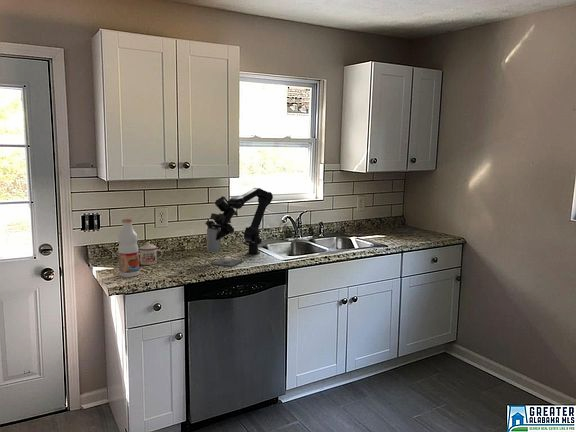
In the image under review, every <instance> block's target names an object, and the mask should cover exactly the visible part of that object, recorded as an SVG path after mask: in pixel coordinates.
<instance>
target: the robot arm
mask: <svg viewBox="0 0 576 432" xmlns="http://www.w3.org/2000/svg"><path fill="white" fill-rule="evenodd" d="M256 197H257V204H258V205H257V208H256V210H255V213H254V215H253V219H252V221H251V224H250V225H249V226H248V227H245V231H244V232H243V234H244V235H243V237H244V241H245V243H246V244H247V243H248V251H247V252H246V254H247V255H258V254H260V253H261V251H259V245H261V244H262V243H263V242H262V241H263V239H261V237H260V229H259V228H260V225H261V224H262V223H261V222H262V220H263V217H264V214H265V211H266V210H267V207H268V206H269V205H270V204H271V202H272V201H273V198H274V196H273V193H272V192H271V191H267V190H264V189H263V188H261V187H253V188H252V189H251V190H248V191H247V192H245V193H243V194H241V195H239V196H235V197H231V198H229V200H227V199H226V197H225V196H221V197H219V198H218V199H216V200H215V202H214V205H215V206H216V207H217V209H218V210H219V211H220V212H222V213H214V212H213V213H212V212H211V214H210V217H209V219H210V220H206V222H204V223H205V225H206V226H207V227H208V228H220V232H219V234H218V236H217V237H216V240H219V239H220V240H221V239H222V238H223V237H225V236H228V235H230V234H232V235H233V233H234V232H235V228H234V227H233V226H232V221H231V219H232V218H233V217H234V216H238V211H237V210H240V209H241V208H242V207H244V206H245V203H247V202H248V201H249V202H250V200H252V199H254V198H256ZM235 209H236V210H235ZM213 220H214V221H213ZM208 228H207V229H208Z"/></svg>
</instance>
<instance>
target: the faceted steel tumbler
mask: <svg viewBox="0 0 576 432" xmlns="http://www.w3.org/2000/svg"><path fill="white" fill-rule="evenodd" d="M219 232H220V228H206V251H207V252H211V253H215V252H217V253H218V252H220V251H221V250H222V249H221V247H222V245H221V238H220V239H219V240H216V237H217V236H218V234H219Z"/></svg>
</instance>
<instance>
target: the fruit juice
mask: <svg viewBox="0 0 576 432" xmlns="http://www.w3.org/2000/svg"><path fill="white" fill-rule="evenodd" d="M133 222H134V221H133V219H131V218H125V219H124V218H123V219H122V220H121V224H122V227H121V231H120V232H119V234H118V236H117V237H118V238H117V239H118V244H119V245H118V249H117V250H118V251H117V252H118V268H119V277H121V278H134V277H133V276H135V277H137V275H138V276H139V275H140V262H139V261H140V249H139V245H138V234H137V232H136V231H135V229H134V227H133Z"/></svg>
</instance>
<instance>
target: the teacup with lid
mask: <svg viewBox="0 0 576 432" xmlns="http://www.w3.org/2000/svg"><path fill="white" fill-rule="evenodd" d="M157 252H160V255H159V256H157ZM162 256H163V251H162V250H161V249H158V247H157V246H156V245H154V244H152V243H151V242H146V243H145V244H143V245H142V246H140V247H139V261H140V262H139V264H140V265H142V266H151V265H156V264H157V263H158V259H161V258H162Z"/></svg>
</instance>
